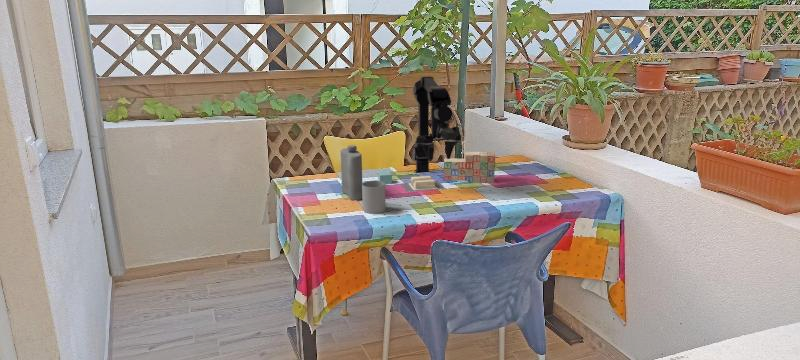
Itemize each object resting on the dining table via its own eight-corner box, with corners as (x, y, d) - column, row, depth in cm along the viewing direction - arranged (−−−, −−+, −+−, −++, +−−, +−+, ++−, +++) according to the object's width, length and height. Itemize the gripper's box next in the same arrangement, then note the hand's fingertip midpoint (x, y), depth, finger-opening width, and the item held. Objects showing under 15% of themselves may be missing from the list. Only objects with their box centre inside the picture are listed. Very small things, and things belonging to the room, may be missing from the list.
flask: (366, 199, 225) (365, 149, 219) (352, 201, 223) (350, 150, 217) (354, 189, 238) (352, 141, 233) (340, 190, 236) (338, 142, 230)
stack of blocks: (443, 182, 246) (443, 154, 243) (443, 178, 252) (444, 151, 249) (494, 183, 244) (495, 155, 241) (493, 179, 250) (494, 151, 247)
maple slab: (411, 184, 241) (411, 177, 240) (429, 182, 242) (429, 175, 242) (415, 189, 233) (415, 182, 232) (434, 188, 235) (434, 180, 234)
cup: (362, 206, 216) (361, 181, 214) (384, 206, 217) (384, 180, 214) (363, 214, 208) (362, 187, 206) (386, 213, 209) (385, 186, 206)
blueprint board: (400, 185, 242) (400, 183, 242) (437, 183, 245) (437, 180, 245) (407, 194, 231) (407, 191, 231) (445, 191, 234) (445, 188, 234)
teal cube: (378, 183, 246) (377, 172, 244) (389, 183, 247) (389, 171, 245) (380, 187, 241) (380, 175, 240) (392, 186, 242) (391, 174, 241)
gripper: (432, 122, 215) (433, 164, 218) (470, 119, 226) (470, 159, 228) (414, 121, 224) (416, 161, 227) (451, 119, 235) (452, 157, 237)
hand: (439, 160), depth 230 cm, fingers open, 9 cm apart
